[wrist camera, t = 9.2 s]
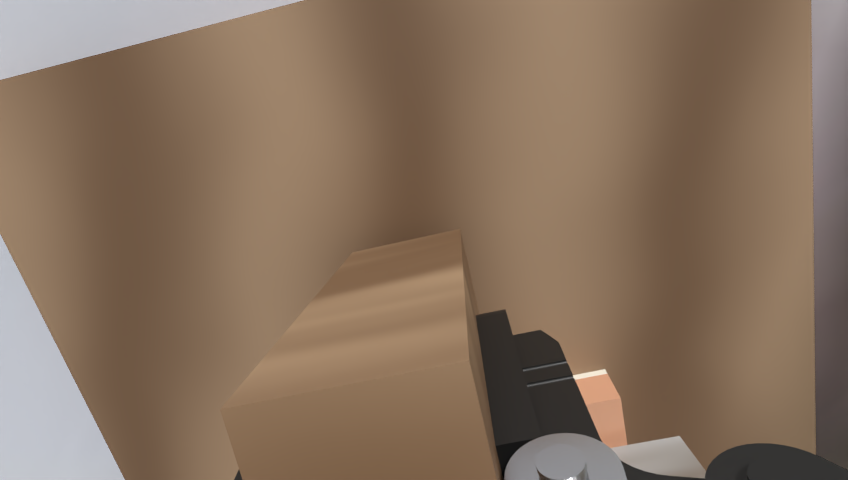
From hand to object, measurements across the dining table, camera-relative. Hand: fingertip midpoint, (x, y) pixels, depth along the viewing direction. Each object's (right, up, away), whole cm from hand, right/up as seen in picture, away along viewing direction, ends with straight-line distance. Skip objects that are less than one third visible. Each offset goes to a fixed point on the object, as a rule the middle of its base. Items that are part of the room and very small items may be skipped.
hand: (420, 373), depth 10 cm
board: (0, 0, +5) cm, 5 cm away
